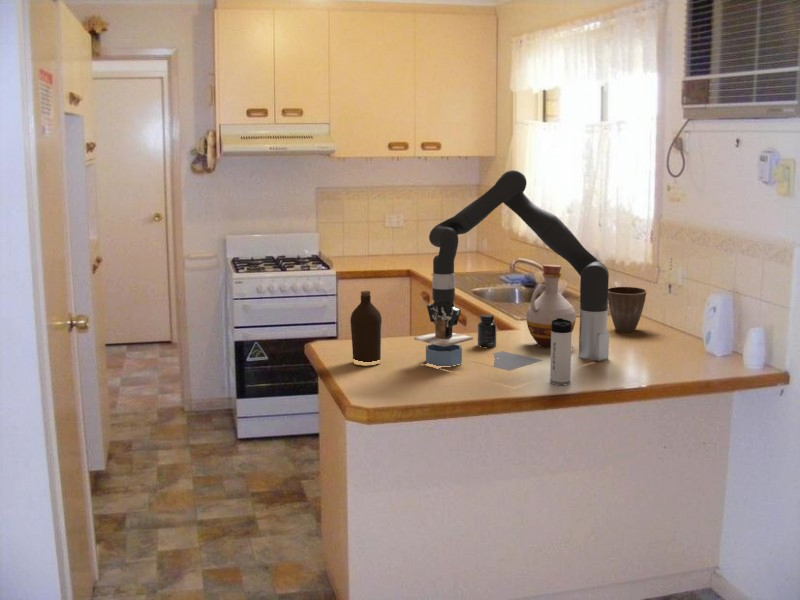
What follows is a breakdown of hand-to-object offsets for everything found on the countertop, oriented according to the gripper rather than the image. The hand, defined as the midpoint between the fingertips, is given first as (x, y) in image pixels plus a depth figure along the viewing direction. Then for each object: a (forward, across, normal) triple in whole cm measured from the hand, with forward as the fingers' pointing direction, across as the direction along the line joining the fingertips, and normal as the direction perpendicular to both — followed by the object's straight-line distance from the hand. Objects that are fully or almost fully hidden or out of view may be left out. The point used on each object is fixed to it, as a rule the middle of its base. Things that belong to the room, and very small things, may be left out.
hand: (443, 336), depth 305 cm
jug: (+10, -10, -45) cm, 47 cm away
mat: (+10, -13, -17) cm, 24 cm away
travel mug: (+10, -41, -10) cm, 43 cm away
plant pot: (+10, -16, -86) cm, 88 cm away
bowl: (+10, 0, 0) cm, 10 cm away
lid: (+1, 0, 0) cm, 1 cm away
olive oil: (+10, +20, +17) cm, 28 cm away
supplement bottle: (+10, +5, -28) cm, 30 cm away
